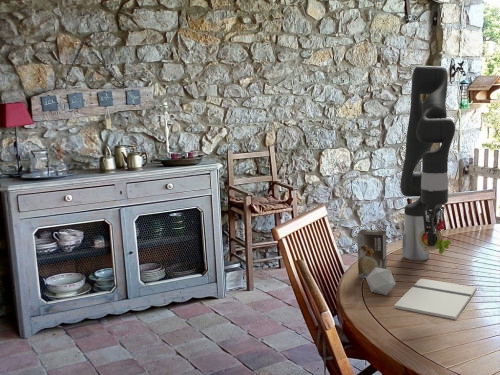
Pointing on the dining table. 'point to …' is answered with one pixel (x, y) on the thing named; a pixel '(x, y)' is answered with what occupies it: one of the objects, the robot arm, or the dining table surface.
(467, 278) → the dining table surface
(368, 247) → the coffee box
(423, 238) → the bird rattle
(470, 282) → the dining table surface
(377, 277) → the die
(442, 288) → the mat
